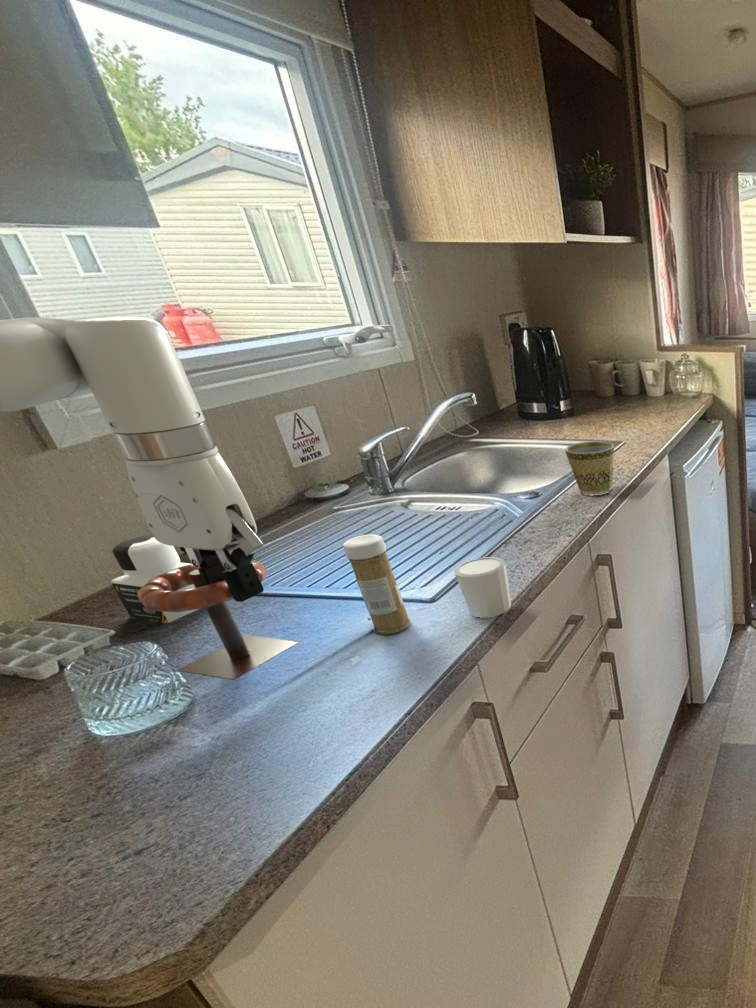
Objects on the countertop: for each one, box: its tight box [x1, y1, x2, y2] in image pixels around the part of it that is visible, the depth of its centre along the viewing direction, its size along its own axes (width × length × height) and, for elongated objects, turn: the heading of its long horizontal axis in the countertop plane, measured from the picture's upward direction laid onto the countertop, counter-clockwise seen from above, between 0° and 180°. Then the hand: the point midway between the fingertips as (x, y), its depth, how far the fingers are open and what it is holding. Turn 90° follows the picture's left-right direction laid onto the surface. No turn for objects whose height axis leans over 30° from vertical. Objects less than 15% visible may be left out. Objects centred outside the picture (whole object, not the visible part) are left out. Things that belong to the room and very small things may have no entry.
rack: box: [176, 569, 300, 681], centre depth 82 cm, size 9×9×13 cm
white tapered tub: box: [453, 556, 512, 619], centre depth 96 cm, size 7×7×7 cm
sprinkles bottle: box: [342, 534, 411, 636], centre depth 89 cm, size 5×5×14 cm
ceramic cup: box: [564, 440, 615, 495], centre depth 144 cm, size 13×10×10 cm
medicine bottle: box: [110, 534, 199, 624], centre depth 93 cm, size 7×7×12 cm
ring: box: [137, 559, 268, 612], centre depth 79 cm, size 12×12×2 cm
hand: (238, 594), depth 79 cm, fingers closed on ring, 2 cm apart
